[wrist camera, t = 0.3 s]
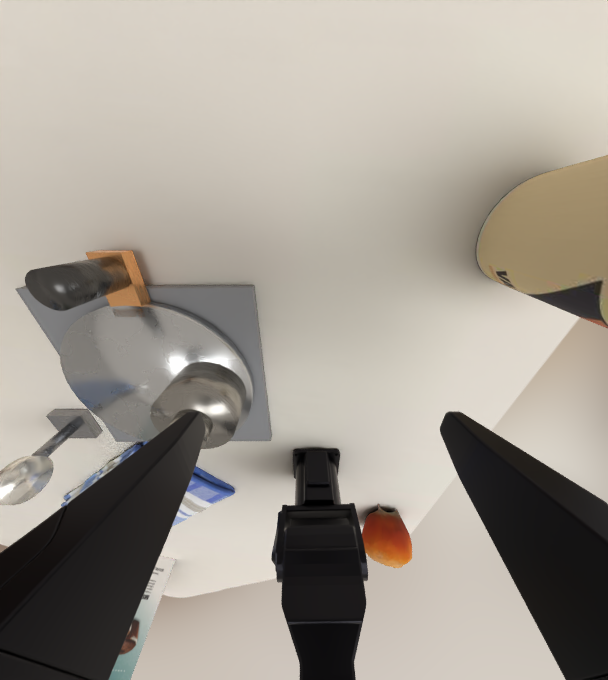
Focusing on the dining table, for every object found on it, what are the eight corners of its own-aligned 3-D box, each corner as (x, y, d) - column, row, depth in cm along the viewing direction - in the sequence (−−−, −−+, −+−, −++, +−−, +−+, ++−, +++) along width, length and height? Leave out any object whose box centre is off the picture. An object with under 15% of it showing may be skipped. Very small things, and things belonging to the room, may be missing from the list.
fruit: (419, 511, 36) (427, 579, 32) (392, 502, 42) (395, 558, 38) (374, 504, 35) (376, 574, 31) (354, 497, 41) (353, 553, 37)
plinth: (271, 435, 29) (270, 442, 28) (121, 436, 29) (115, 442, 28) (254, 285, 19) (251, 288, 18) (26, 286, 19) (12, 289, 18)
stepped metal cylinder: (250, 414, 23) (236, 464, 19) (186, 414, 23) (155, 465, 19) (241, 361, 20) (221, 405, 15) (165, 361, 20) (122, 406, 15)
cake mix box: (64, 545, 46) (-261, 986, 19) (69, 535, 43) (-294, 1021, 17) (166, 566, 52) (26, 922, 26) (175, 559, 49) (31, 941, 23)
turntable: (262, 437, 27) (252, 486, 22) (119, 438, 27) (77, 487, 22) (233, 249, 16) (202, 262, 11) (-2, 250, 16) (-135, 264, 11)
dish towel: (67, 491, 36) (50, 510, 34) (143, 431, 29) (128, 451, 27) (159, 526, 43) (150, 545, 40) (239, 485, 35) (234, 505, 33)
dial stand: (102, 431, 28) (24, 513, 20) (72, 431, 28) (-19, 513, 20) (87, 409, 26) (-6, 490, 18) (54, 409, 26) (-53, 490, 18)
